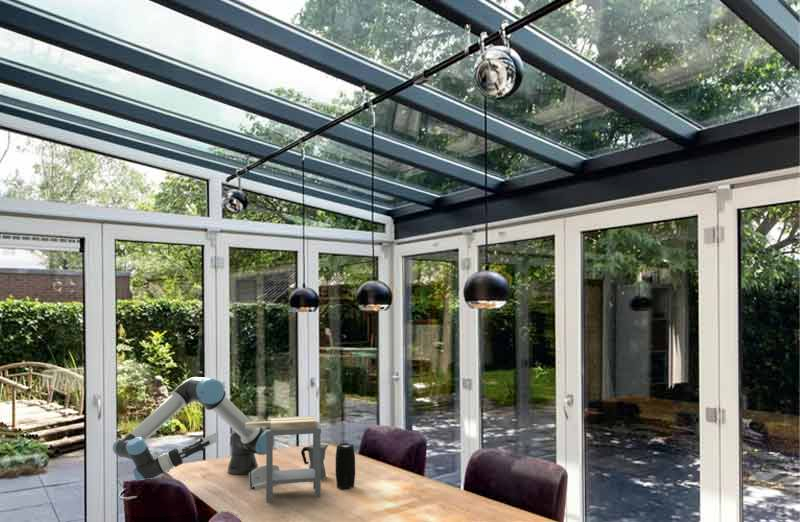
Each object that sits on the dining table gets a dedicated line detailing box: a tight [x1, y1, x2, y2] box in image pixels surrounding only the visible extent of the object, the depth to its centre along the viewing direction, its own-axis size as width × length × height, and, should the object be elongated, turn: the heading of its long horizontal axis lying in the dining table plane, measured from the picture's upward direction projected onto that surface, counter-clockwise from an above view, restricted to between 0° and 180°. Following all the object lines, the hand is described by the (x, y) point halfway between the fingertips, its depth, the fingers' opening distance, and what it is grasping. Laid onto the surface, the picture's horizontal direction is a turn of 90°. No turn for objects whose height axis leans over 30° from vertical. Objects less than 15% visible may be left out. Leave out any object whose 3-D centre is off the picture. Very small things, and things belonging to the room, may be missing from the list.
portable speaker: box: [335, 442, 356, 491], centre depth 287 cm, size 9×9×20 cm
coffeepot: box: [300, 443, 329, 480], centre depth 306 cm, size 15×9×18 cm, turn 129°
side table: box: [265, 421, 322, 503], centre depth 279 cm, size 18×24×30 cm
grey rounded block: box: [248, 464, 280, 491], centre depth 294 cm, size 17×5×10 cm, turn 136°
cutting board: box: [245, 415, 317, 431], centre depth 279 cm, size 16×31×3 cm, turn 101°
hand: (217, 436), depth 278 cm, fingers open, 13 cm apart
